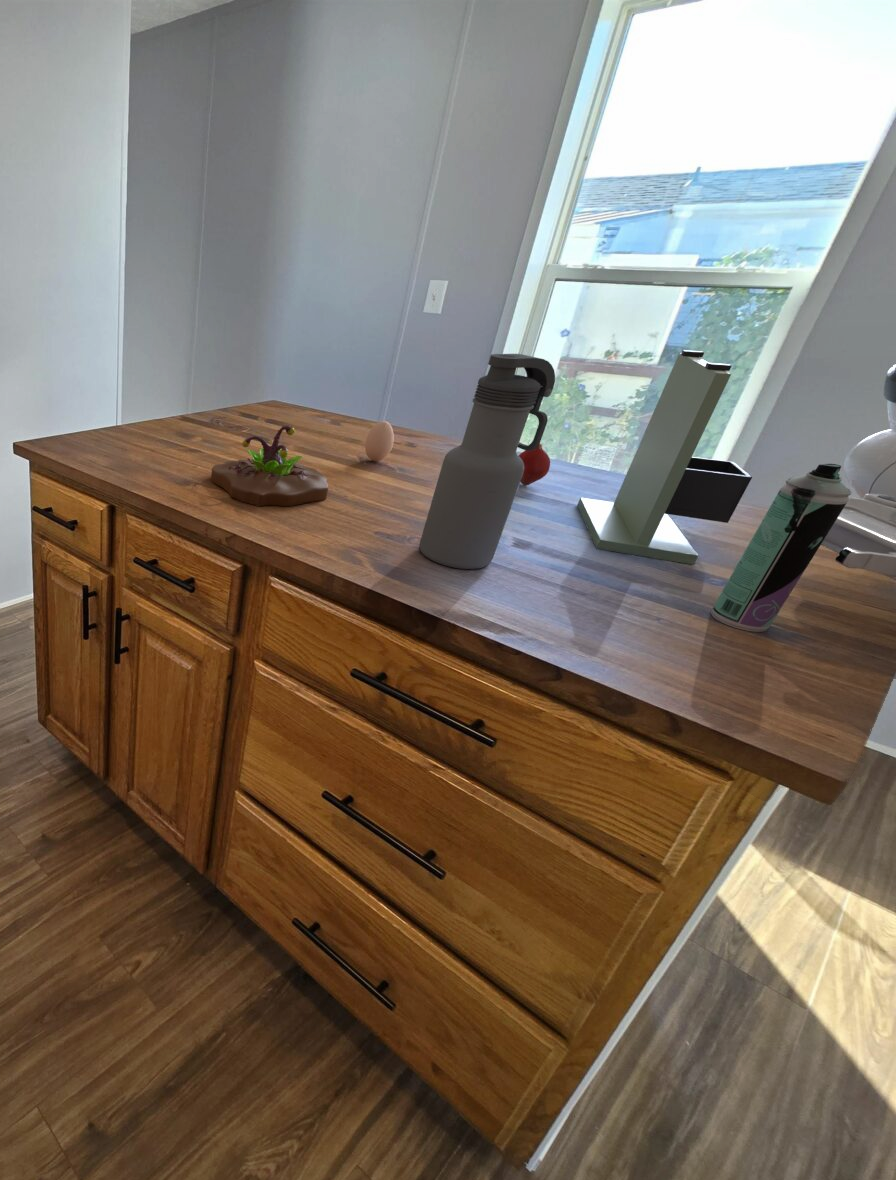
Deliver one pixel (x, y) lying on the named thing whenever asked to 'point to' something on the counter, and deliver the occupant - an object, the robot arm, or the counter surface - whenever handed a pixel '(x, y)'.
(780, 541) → the spray can
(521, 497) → the counter surface
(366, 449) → the egg
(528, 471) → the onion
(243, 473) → the plant
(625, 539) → the white stand
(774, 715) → the counter surface
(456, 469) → the water bottle
